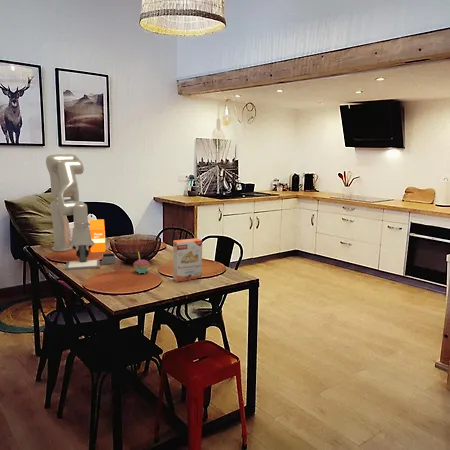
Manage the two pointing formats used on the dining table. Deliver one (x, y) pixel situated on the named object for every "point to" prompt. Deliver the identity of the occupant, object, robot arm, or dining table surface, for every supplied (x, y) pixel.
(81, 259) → the marker
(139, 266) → the cupcake
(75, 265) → the writing board
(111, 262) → the grey square block
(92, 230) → the orange juice
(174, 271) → the cracker box
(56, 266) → the dining table surface
